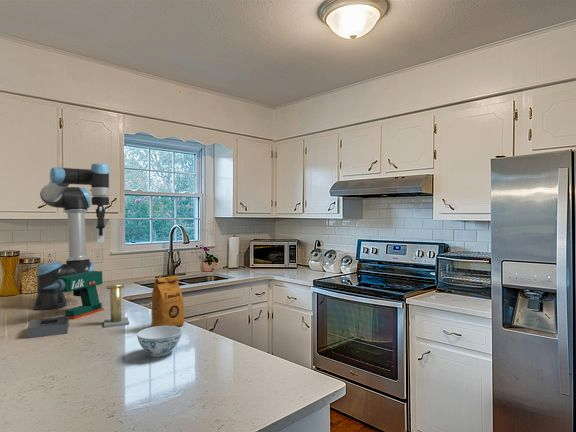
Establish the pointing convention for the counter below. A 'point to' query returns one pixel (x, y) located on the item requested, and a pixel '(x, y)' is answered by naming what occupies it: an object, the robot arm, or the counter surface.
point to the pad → (111, 324)
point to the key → (115, 302)
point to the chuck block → (48, 327)
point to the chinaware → (159, 339)
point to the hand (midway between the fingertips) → (100, 241)
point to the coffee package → (167, 303)
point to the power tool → (80, 292)
